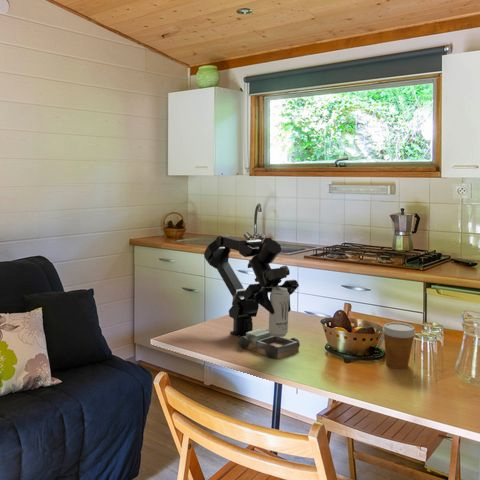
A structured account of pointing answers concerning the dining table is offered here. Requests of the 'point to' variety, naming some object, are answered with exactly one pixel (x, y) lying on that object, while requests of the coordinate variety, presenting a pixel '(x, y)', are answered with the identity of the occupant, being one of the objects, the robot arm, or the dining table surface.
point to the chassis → (269, 344)
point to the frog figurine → (381, 340)
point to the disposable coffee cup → (398, 344)
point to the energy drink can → (279, 312)
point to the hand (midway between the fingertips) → (281, 312)
